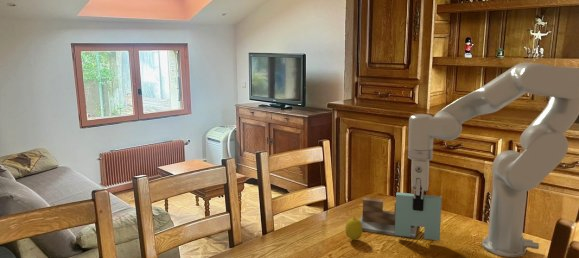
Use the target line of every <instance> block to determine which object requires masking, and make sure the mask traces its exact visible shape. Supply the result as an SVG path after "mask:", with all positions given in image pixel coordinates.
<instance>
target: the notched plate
mask: <svg viewBox="0 0 579 258" xmlns="http://www.w3.org/2000/svg"><path fill="white" fill-rule="evenodd" d="M413 198H414V193H407V192H398V191H397V192H396V193H395V202H396V214H395V235H399V236H398V237H402V236H407V237H406V238H408V237H410V234H411V226H417V227H422V228H423V229H424V230H423V231H424V232H423V239H424V240H430V241H431V240H432V241H439V242H440V239H441V219H442V201H443V200H442V198H443V196H441V195H429V194H424V195H423V199H424V203H423V211H416V210H413ZM395 235H394V236H395Z"/></svg>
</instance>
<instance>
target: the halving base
mask: <svg viewBox="0 0 579 258" xmlns="http://www.w3.org/2000/svg"><path fill="white" fill-rule="evenodd" d="M383 208H384V200H383V199H381V198H380V199H377V198H371V197H364V198H363V199H362V214H361V217H360V219H358V220H359V221H360V222H361V224H362V232H367V233H368V232H369V233H374V234H383V235H390V236H395V237H400V236H399V235H395V214H396V201H395V203H394V211H389V210H383ZM417 231H418V226H411V234H410V237H407V236H401V238H402V237H403V238H410V239H416V237H417Z"/></svg>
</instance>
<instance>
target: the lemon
mask: <svg viewBox="0 0 579 258" xmlns="http://www.w3.org/2000/svg"><path fill="white" fill-rule="evenodd" d="M359 220H360V219H359V218H357V217H352V218H350V219H348V220H347V222H346V224H345V234H346V236H347V237H348V238H349V239H351V240H352V241H355V240H357V239H360V238H361V237H362V234H363V231H362V224H361V222H360V221H359Z"/></svg>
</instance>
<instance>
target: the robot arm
mask: <svg viewBox="0 0 579 258" xmlns="http://www.w3.org/2000/svg"><path fill="white" fill-rule="evenodd" d="M525 94H531V95H536V96H537V95H538V96H543V97H549V99H548V102H547V104H546V106H545V107H544V108H543V110H542V111H541V112H540V113H539V115H538V116H537V117H536V118H535V119H534V120H533V121H532V122H531V123H530V124H529V125H528V126H527V127H526V128H525V130H524V131H523V132H521V135H520V136H519V143H520V147H521V148H522V149H523V151H522V152H521V153H520V152H519V151H516V150H509V149H507V150H503V151H502V152H500V153H499V154H497V155H496V156H495V158H494V159H493V163H492V192H491V203H490V212H489V213H490V214H489V224H488V234H487V237H485V238H483V239H482V240H481V245H482V247H483V248H484V249H485V250H486V251H488V252H491V253H492V254H494V255H498V256H502V257H507V258H518V257H523V256H524V255H525V254H527V248H529V249H535V250H539V248H540V247H539V246H540V245H539V244H540V243H539V242H534V240H533V239H529V238H527V239H526V238H525V237H523V232H524V231H523V230H524V223H525V214H526V213H525V212H526V206H527V196H528V195H527V192H528V191H531V190H533V189H535V188H537V187H538V185H540V184H541V183H542V182H543V181H544V180H545V179H546V177H548V176H549V174H551V173H552V172H553V170H555V168H557V166H559V165H560V163H561V162H562V161H563V160H564V158H565V157H566V155H567V153H568V150H569V142H568V138H567V137H566V135H565V134H566V133H567V131H568V130H569V129H570V127H572V125H573V124H574V123H575V122H576V120H577V119H578V117H579V67H571V66H558V65H550V64H543V63H537V62H526V61H524V62H520V63H517V64H515V65H514V66H512V67H511V68H509V69H507V70H506V71H505V72H503V73H501V74H499V75H498V76H497V77H495V78H494V79H492V80H490V81H489V82H487V83H486V84H484V85H483V86H481V87H479V88H478V89H475V90H473V91H472V92H469V93H468V94H466V95H464V96H461V97H460V98H457V99H456V100H454V101H453V102H452V103H450V104H448V105H446V106H445V107H443V108H441V110H439V111H437V112H436V114H435V113H434V115H433V116H432V115H431V114H426V113H417V114H412V115H410V117H408V118H409V119H408V138H407V139H408V141H407V143H408V145H407V158H408V159H409V160H411V165H410V166H411V168H410V169H411V170H410V171H411V174H410V175H411V176H410V179H411V182H410V183H411V184H410V185H411V190H412V191H413V194H414V198H413V210H416V211H423V203H424V199H423V195H425V193H424V192H427V191H429V184H430V182H429V181H430V161H431V160H433V157H434V153H433V152H434V139H438V140H442V141H453V140H455V139H457V138H459V137H460V135H461V133H462V131H463V125H462V124H464V123H465V122H467V121H469V120H470V119H472V118H473V119H474V118H475V117H478V116H482V115H490V114H493V113H496V112H498V111H500V110H501V109H503V108H505V107H506V106H507V105H509V104H511V103H513V102H514V101H516V100H517V99H519V98H521V97H522V96H524V95H525Z"/></svg>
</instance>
